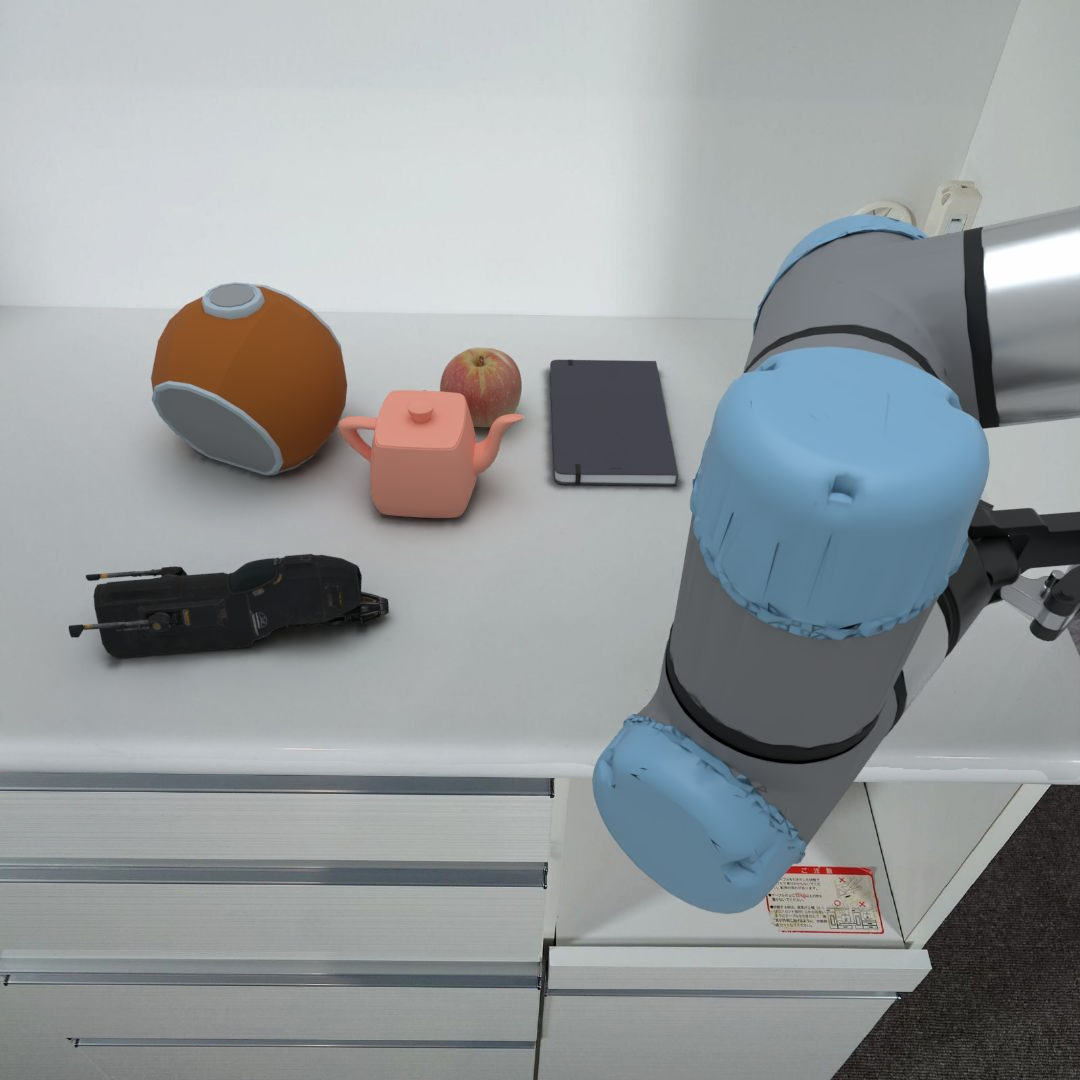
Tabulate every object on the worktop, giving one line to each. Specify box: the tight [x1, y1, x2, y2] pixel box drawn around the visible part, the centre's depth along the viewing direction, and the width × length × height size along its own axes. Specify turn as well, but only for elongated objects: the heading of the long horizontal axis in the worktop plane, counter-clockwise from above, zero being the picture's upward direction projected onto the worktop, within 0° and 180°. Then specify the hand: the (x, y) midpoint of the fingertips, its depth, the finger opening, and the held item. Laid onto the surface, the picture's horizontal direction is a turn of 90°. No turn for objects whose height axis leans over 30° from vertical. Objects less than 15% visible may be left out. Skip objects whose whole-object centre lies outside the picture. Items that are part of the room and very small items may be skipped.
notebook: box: [549, 359, 679, 487], centre depth 103 cm, size 13×2×21 cm
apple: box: [439, 347, 523, 428], centre depth 101 cm, size 9×9×8 cm
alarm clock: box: [150, 281, 348, 476], centre depth 94 cm, size 19×18×17 cm
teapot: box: [337, 389, 524, 519], centre depth 91 cm, size 12×18×10 cm, turn 88°
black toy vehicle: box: [68, 553, 390, 659], centre depth 78 cm, size 7×25×8 cm, turn 96°
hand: (1044, 404), depth 52 cm, fingers open, 13 cm apart
